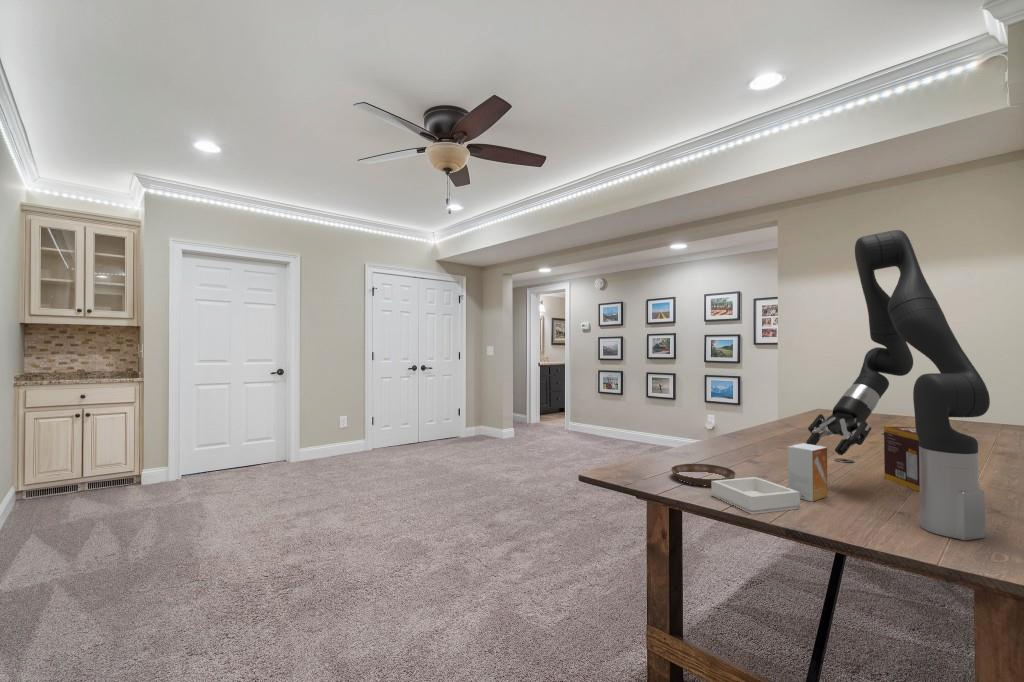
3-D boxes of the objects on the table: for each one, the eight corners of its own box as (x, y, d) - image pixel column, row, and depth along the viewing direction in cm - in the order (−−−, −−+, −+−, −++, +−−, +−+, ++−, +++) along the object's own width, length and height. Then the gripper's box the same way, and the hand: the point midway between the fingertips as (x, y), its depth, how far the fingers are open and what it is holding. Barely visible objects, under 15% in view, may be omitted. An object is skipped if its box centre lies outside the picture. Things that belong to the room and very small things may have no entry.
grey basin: (799, 508, 115) (799, 491, 115) (751, 514, 111) (751, 496, 111) (755, 491, 128) (755, 476, 128) (711, 496, 124) (711, 480, 125)
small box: (813, 502, 119) (812, 450, 119) (787, 496, 125) (786, 446, 125) (828, 496, 124) (827, 446, 124) (802, 490, 129) (802, 442, 129)
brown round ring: (671, 486, 134) (671, 475, 134) (670, 470, 151) (670, 461, 151) (740, 492, 129) (740, 480, 129) (731, 475, 146) (731, 465, 146)
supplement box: (920, 478, 141) (920, 425, 141) (965, 494, 125) (964, 435, 126) (883, 477, 142) (882, 425, 142) (922, 493, 126) (921, 434, 127)
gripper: (824, 392, 135) (792, 435, 132) (874, 397, 121) (840, 445, 118) (839, 410, 136) (808, 453, 133) (890, 417, 123) (857, 465, 120)
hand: (823, 449), depth 126 cm, fingers open, 8 cm apart
